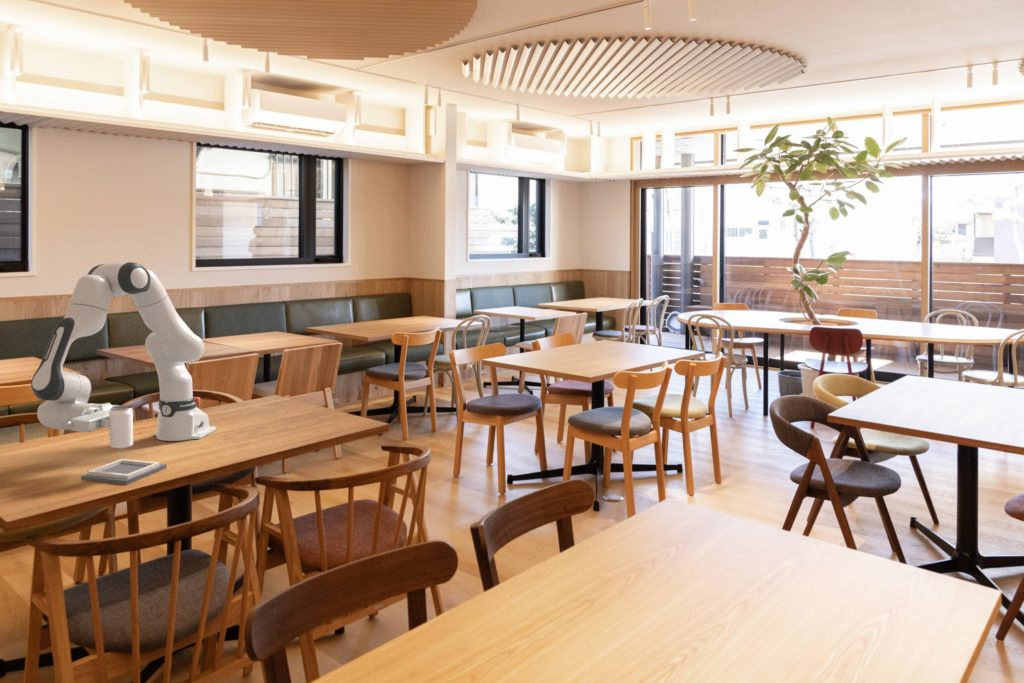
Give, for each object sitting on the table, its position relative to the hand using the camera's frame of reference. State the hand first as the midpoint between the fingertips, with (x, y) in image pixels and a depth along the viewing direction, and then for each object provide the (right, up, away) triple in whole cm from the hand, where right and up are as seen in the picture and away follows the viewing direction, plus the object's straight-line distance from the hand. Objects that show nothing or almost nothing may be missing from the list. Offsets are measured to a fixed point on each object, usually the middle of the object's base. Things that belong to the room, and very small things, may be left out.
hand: (124, 421), depth 244 cm
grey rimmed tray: (-1, -17, +2) cm, 17 cm away
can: (-1, -8, +1) cm, 8 cm away
